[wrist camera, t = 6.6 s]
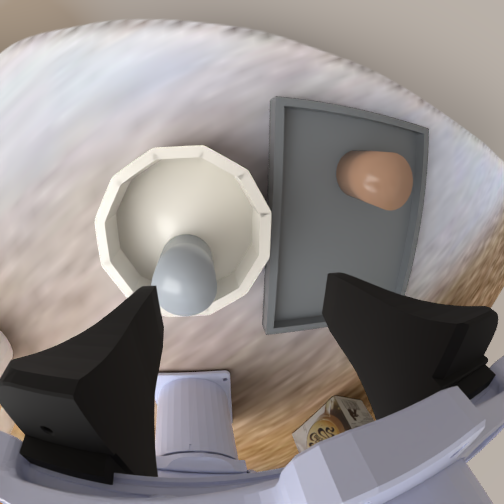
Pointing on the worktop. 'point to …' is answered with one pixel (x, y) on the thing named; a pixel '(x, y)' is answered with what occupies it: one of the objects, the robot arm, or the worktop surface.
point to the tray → (333, 208)
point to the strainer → (6, 422)
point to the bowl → (184, 219)
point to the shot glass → (4, 353)
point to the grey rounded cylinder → (185, 276)
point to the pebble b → (375, 178)
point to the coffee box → (332, 421)
